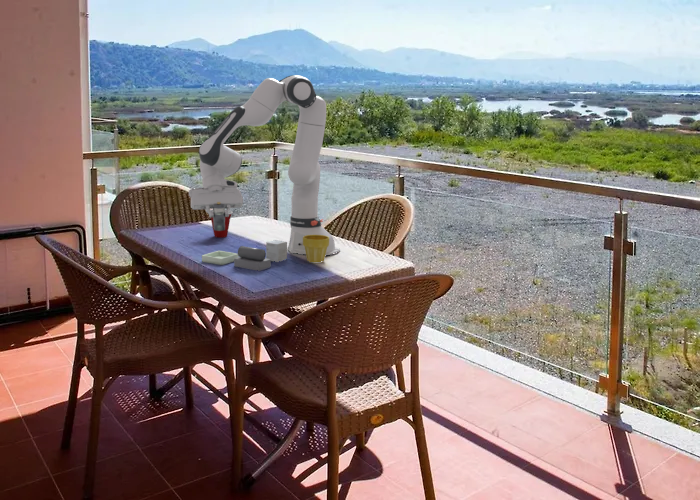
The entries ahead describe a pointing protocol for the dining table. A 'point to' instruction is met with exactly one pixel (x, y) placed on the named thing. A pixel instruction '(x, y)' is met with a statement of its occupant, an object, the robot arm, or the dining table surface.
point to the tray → (219, 257)
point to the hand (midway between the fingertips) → (219, 216)
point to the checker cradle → (252, 258)
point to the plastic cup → (225, 232)
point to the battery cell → (219, 216)
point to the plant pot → (315, 247)
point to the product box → (276, 250)
